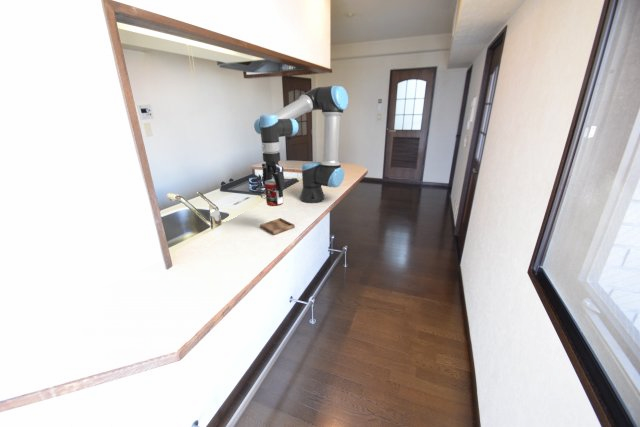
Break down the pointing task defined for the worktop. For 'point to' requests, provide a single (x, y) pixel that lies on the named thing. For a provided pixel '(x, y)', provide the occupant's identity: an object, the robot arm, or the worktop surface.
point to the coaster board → (277, 226)
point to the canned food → (271, 193)
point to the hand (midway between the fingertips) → (275, 201)
